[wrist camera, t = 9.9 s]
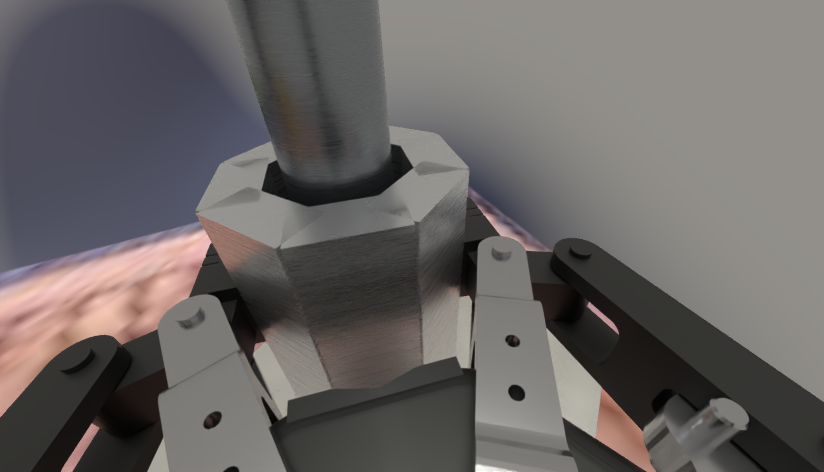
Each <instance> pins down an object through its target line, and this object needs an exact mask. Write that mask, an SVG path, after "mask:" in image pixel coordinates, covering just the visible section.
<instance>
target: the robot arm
mask: <svg viewBox="0 0 824 472" xmlns="http://www.w3.org/2000/svg"><path fill="white" fill-rule="evenodd" d="M467 295H469V296H470V298H471V300H472V305H471V322H470V345H469V363H468V368H461V367H460V364H459V362H458V359H457V357H456V356H454V357H451V358H447V359H443V360H439V361H436V362H432V363H428V364H424V365H420V366H417V367H415V368H413V369H412V370H410V371H408V372H406V373H404V374H403V375H401V376H399V377H397V378H395V379H394V380H392V381H390V382H388V383H386V384H385V385H383V386H381V387H378V388H360V389H329V390H326V391H322V392H318V393H314V394H310V395H307V396H303V397H299V398H295V399H291V400H288V405H287V416H285V417H283V416H282V414H281V413H280V411H279V409H278V407H277V405H276V402H275V400H274V398H273V396H272V394H271V391H270V389H269V387H268V385H267V383H266V380H265V378H264V376H263V374H262V372H261V369H260V367H259V365H258V363H257V361H256V359H255V357H254V356H253V353H254V347H255V344H256V343H260V342H265V341H266V340H265V338H264V336H263V334H262V333H261V331H260V329H259V327H258V325H257V323H256V322H255V320H254V318H253V316H252V314H251V313H250V311H249V309H248V307H247V305H246V304H245V302H244V300H243V298H242V296H241V294H240V293H239V291H238V289H237V287H236V285H235V284H234V282H233V280H232V278H231V276H230V274H229V273H228V271H227V269H226V267H225V265H224V264H223V262H222V260H221V258H220V256H219V255H218V253H217V251H216V249H215V247H214V245H213V244H212V243H211V244H210V246H209V249H208V251H207V254H206V258H205V259H204V261H203V264H202V267H201V269H200V271H199V274H198V276H197V279H196V281H195V284H194V286H193V289H192V291H191V294H190V296H189V298H188V299H185V300H183V301H181V302H179V303H178V304H176V305H175V306H173V307H172V308H171V309H169V310H168V311H167V312H166V313H165V314H164V316H163V317H162V318H161V320H160V322H159V324H158V329H157V330H155V331H153V332H151V333H148V334H146V335H144V336H141V337H139V338H137V339H134V340H132V341H130V342H127V343H125V344H123V345H121V344H120V343H119V342H118V341H117V340H116V339H115V338H114V337H112V336H108V335H99V336H94V337H90V338H87V339H84V340H82V341H80V342H77V343H75V344H73V345H72V346H70V347H68V348H67V349H65V350H64V351H62V352H61V353H59V354H58V355H57V356H56V357H54V358H53V359H52V360H51V361H50V362H49V363H48V364H47V365H46V366H45V367H44V369H43V370H42V371H41V372H40V373H39V374H38V375H37V377H36V378H35V379H34V380H33V381H32V382H31V383H30V384H29V386H28V387H27V388H26V389H25V390H24V391H23V392H22V394H21V395H20V396H19V397H18V398H17V399H16V400H15V402H14V403H13V404H12V405H11V406H10V407H9V408H8V409H7V411H6V412H5V413H4V414H3V415H2V416H1V417H0V472H61V470H62V468H63V466H64V464H65V463H66V461H67V460H68V458H69V457H70V455H71V454H72V452H73V451H74V449H75V448H76V446H77V445H78V443H79V442H80V440H81V439H82V437H83V435H84V434H85V432H86V431H87V429H88V428H89V426H90V425H91V423H93V424H94V425H96V426H97V427H99V428H100V429H99V430H98V432H97V433H96V435H95V437H94V438H93V440H92V441H91V443H90V445H89V446H88V448H87V449H86V451H85V453H84V454H83V456H82V457H81V459H80V460H79V462H78V464H77V465H76V467H75V468H74V470H73V472H147V471H148V469H149V467H150V465H151V463H152V461H153V459H154V456H155V454H156V452H157V450H158V448H159V446H160V444H161V442H162V440H163V437H164V443H165V449H166V455H167V462H168V468H169V472H646V471H644V470H643V469H641V468H640V467H638V466H637V465H635V464H634V463H632V462H631V461H629V460H628V459H626V458H625V457H623V456H621V455H620V454H618V453H617V452H615V451H614V450H612V449H611V448H609V447H608V446H606V445H605V444H603V443H602V442H600V441H599V440H597V439H595V438H594V437H592V436H591V435H589V434H588V433H586V432H585V431H583V430H582V429H580V428H579V427H577V426H576V425H574V424H572V423H571V422H569V421H568V420H566V419H565V418H563V417H562V413H561V408H560V402H559V396H558V391H557V385H556V380H555V374H554V368H553V363H552V357H551V352H550V346H549V340H548V335H547V329H548V330H549V331H550V332H551V333H552V334H553V335H554V337H555V338H556V339H557V340H558V341H559V342H560V343H561V344H562V345H563V346H564V347H565V348H566V349H567V350H568V352H569V353H570V354H571V355H572V356H573V357H574V358H575V359H576V360H577V361H578V362H579V363H580V364H581V365H582V367H583V368H584V369H585V370H586V371H587V372H588V373H589V374H590V375H591V376H592V377H593V378H594V379H595V381H596V382H597V383H598V384H599V385H600V386H601V387H602V388H603V389H604V390H605V391H606V392H607V393H608V394H609V396H610V397H611V398H612V399H613V400H614V401H615V402H616V403H617V404H618V405H619V406H620V407H621V408H622V409H623V411H624V412H625V413H626V414H627V415H628V416H629V417H630V418H631V419H632V420H633V421H634V422H635V423H636V425H637V426H638V427H639V428H640V429H641V430H642V431H643V437H644V442H645V446H646V448H647V450H648V452H649V454H650V456H649V458H650V462H651V465H652V466H653V468H654V469H655V470H656V471H657V472H824V402H823V401H821V400H820V399H818V398H817V397H815V396H814V395H812V394H811V393H810V392H808V391H807V390H805V389H804V388H802V387H801V386H800V385H798V384H797V383H795V382H794V381H792V380H791V379H789V378H788V377H787V376H785V375H784V374H782V373H781V372H779V371H778V370H776V369H775V368H774V367H772V366H770V365H769V364H768V363H766V362H765V361H763V360H762V359H761V358H759V357H758V356H756V355H755V354H753V353H752V352H750V351H749V350H747V349H746V348H745V347H743V346H741V345H740V344H739V343H737V342H736V341H734V340H733V339H732V338H730V337H728V336H727V335H726V334H724V333H723V332H721V331H720V330H719V329H717V328H715V327H714V326H713V325H711V324H710V323H708V322H707V321H706V320H704V319H702V318H701V317H700V316H698V315H697V314H695V313H694V312H692V311H691V310H689V309H688V308H687V307H685V306H684V305H682V304H681V303H679V302H678V301H677V300H675V299H674V298H672V297H671V296H669V295H668V294H666V293H665V292H663V291H662V290H661V289H659V288H658V287H656V286H654V285H653V284H652V283H651V282H649V281H647V280H646V279H645V278H643V277H642V276H640V275H639V274H637V273H636V272H635V271H633V270H632V269H630V268H629V267H627V266H626V265H624V264H623V263H622V262H620V261H619V260H617V259H616V258H614V257H613V256H611V255H610V254H608V253H607V252H606V251H604V250H603V249H601V248H600V247H598V246H597V245H595V244H593V243H591V242H589V241H586V240H583V239H577V238H567V239H562V240H560V241H558V242H557V243H556V244H555V246H554V250H553V252H535V251H526V250H525V248H524V247H523V246H522V244H520V243H519V242H518V241H516V240H514V239H511V238H508V237H503V236H500V235H499V233H498V232H497V231H496V230H495V228H494V227H493V226H492V224H491V223H490V222H489V221H488V219H487V218H486V217H485V216H484V215H483V213H482V212H481V211H480V209H478V207H477V205H476V204H475V203H474V202H473V200H472V199H470V198H469V197H467V206H466V220H465V233H464V246H463V260H462V273H461V286H460V297H463V296H467ZM589 302H590V303H591V304H593V305H594V306H595V307H596V308H597V309H598V310H599V311H601V312H602V313H603V314H604V315H605V316H606V317H608V318H609V319H610V320H611V321H612V322H613V323H614V324H615V326H616V327H617V329H618V331H619V335H618V334H617V333H616V332H615V331H614V330H613V329H612V328H610V327H609V326H608V325H607V324H606V323H605V322H604V321H603V320H601V319H600V318H599V317H598V316H597V315H596V314H595V313H594V312H592V311H591V310H590V309H589V308H588V307H587V305H588V303H589ZM546 328H547V329H546Z"/></svg>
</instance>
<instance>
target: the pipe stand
mask: <svg viewBox="0 0 824 472" xmlns="http://www.w3.org/2000/svg"><path fill="white" fill-rule="evenodd" d="M226 3H227V6H228V9H229V12H230V15H231V18H232V22H233V25H234V28H235V31H236V34H237V37H238V40H239V43H240V46H241V49H242V53H243V56H244V59H245V62H246V65H247V68H248V71H249V74H250V77H251V80H252V83H253V86H254V90H255V93H256V96H257V99H258V102H259V105H260V108H261V111H262V114H263V118H264V121H265V124H266V127H267V130H268V133H269V136H270V139H271V142H272V146H273V149H274V152H275V155H276V158H277V161H278V164H279V167H280V170H281V173H282V177H283V180H284V183H285V186H286V189H287V192H288V195H289V198H290V201H292V202H295V203H298V204H301V205H304V206H307V207H312V206H318V205H324V204H330V203H336V202H342V201H348V200H354V199H360V198H366V197H373V196H379V195H380V194H381V193H383V192H384V191H385V190H386V189H388V188H389V187H390V186H391V185H393V184H394V178H393V167H392V155H391V143H390V132H389V121H388V108H387V97H386V85H385V75H384V62H383V50H382V39H381V28H380V15H379V4H378V0H226ZM471 305H472V300H471V299H469V298H467V297H464V296H463V297H460V300H459V313H458V326H457V339H456V353H455V356H456V357H457V359H458V362H459V364H460V367H461V368H468V363H469V345H470V322H471ZM547 335H548V340H549V346H550V352H551V357H552V363H553V368H554V374H555V380H556V385H557V391H558V396H559V402H560V408H561V413H562V417H563V418H565V419H566V420H568V421H569V422H571V423H572V424H574V425H576V426H577V427H579V428H580V429H582V430H583V431H585V432H586V433H588V434H589V435H591V436H592V437H594V438H595V435H596V428H597V420H598V412H599V404H600V397H601V389H602V387H601V386H600V385H599V384H598V383H597V382H596V381H595V379H594V378H593V377H592V376H591V375H590V374H589V373H588V372H587V371H586V370H585V369H584V368H583V367H582V365H581V364H580V363H579V362H578V361H577V360H576V359H575V358H574V357H573V356H572V355H571V354H570V353H569V352H568V350H567V349H566V348H565V347H564V346H563V345H562V344H561V343H560V342H559V341H558V340H557V339H556V338H555V337H554V335H553V334H552V333H551V332H550V331H549V330H548V329H547ZM253 356H254V357H255V359H256V361H257V363H258V365H259V367H260V369H261V372H262V374H263V376H264V378H265V380H266V383H267V385H268V387H269V389H270V391H271V394H272V396H273V398H274V400H275V402H276V405H277V407H278V409H279V411H280V413H281V414H282V416H283V417H285V416H287V405H288V400H291V399H295V398H297V396H296V394H295V392H294V391H293V389H292V387H291V385H290V383H289V382H288V380H287V378H286V376H285V374H284V372H283V371H282V369H281V367H280V365H279V363H278V362H277V360H276V358H275V356H274V354H273V353H272V351H271V349H270V347H269V345H268V343H267V342H265V343H264V344H263V345H262V346H261V347H259V348H258V349H257V350H256V351H255V352H254V353H253ZM147 472H169V468H168V462H167V455H166V449H165V443H164V438H163V440H162V442H161V444H160V446H159V448H158V450H157V452H156V454H155V456H154V459H153V461H152V463H151V465H150V467H149V469H148V471H147Z"/></svg>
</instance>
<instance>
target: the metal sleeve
mask: <svg viewBox="0 0 824 472" xmlns="http://www.w3.org/2000/svg"><path fill="white" fill-rule="evenodd" d="M389 132H390V143H391V155H392V167H393V178H394V184H393V185H391V186H390V187H389V188H388V189H386V190H385V191H384V192H383V193H381V194H380V195H379V196H373V197H366V198H360V199H354V200H348V201H342V202H336V203H330V204H324V205H318V206H312V207H307V206H304V205H301V204H298V203H295V202H292V201H290V198H289V195H288V192H287V189H286V186H285V183H284V180H283V177H282V173H281V170H280V167H279V164H278V161H277V158H276V155H275V152H274V149H273V146H272V142H269V143H266V144H264V145H261V146H259V147H257V148H254V149H252V150H250V151H247V152H245V153H243V154H240V155H238V156H236V157H233V158H231V159H229V160H226V161H224V162H223V164H220V165H219V167H218V169H217V171H216V173H215V175H214V177H213V179H212V181H211V183H210V184H209V186H208V188H207V190H206V192H205V194H204V196H203V198H202V199H201V201H200V203H199V205H198V207H197V209H196V211H195V212H196V215H197V216H198V218H199V220H200V222H201V224H202V225H203V227H204V229H205V231H206V233H207V235H208V236H209V238H210V240H211V242H212V244H213V245H214V247H215V249H216V251H217V253H218V255H219V256H220V258H221V260H222V262H223V264H224V265H225V267H226V269H227V271H228V273H229V274H230V276H231V278H232V280H233V282H234V284H235V285H236V287H237V289H238V291H239V293H240V294H241V296H242V298H243V300H244V302H245V304H246V305H247V307H248V309H249V311H250V313H251V314H252V316H253V318H254V320H255V322H256V323H257V325H258V327H259V329H260V331H261V333H262V334H263V336H264V338H265V340H266V342H267V343H268V345H269V347H270V349H271V351H272V353H273V354H274V356H275V358H276V360H277V362H278V363H279V365H280V367H281V369H282V371H283V372H284V374H285V376H286V378H287V380H288V382H289V383H290V385H291V387H292V389H293V391H294V392H295V394H296V396H297V398H299V397H303V396H307V395H310V394H314V393H318V392H322V391H326V390H329V389H360V388H378V387H381V386H383V385H385V384H386V383H388V382H390V381H392V380H394V379H395V378H397V377H399V376H401V375H403V374H404V373H406V372H408V371H410V370H412V369H413V368H415V367H417V366H420V365H424V364H428V363H432V362H436V361H439V360H443V359H447V358H451V357H454V356H455V353H456V339H457V326H458V313H459V300H460V286H461V273H462V260H463V246H464V233H465V220H466V206H467V193H468V180H469V179H468V178H469V167H468V166H467V165H466V164H465V163H464V162H463V161H462V160H461V159H460V158H459V157H458V156H457V154H456V153H455V152H454V151H453V150H452V149H451V148H450V147H449V146H448V145H447V143H446V142H445V141H444V140H443V139H442V138H441V137H440V136H439V135H438V134H435V133H431V132H425V131H419V130H413V129H406V128H400V127H394V126H389Z"/></svg>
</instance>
